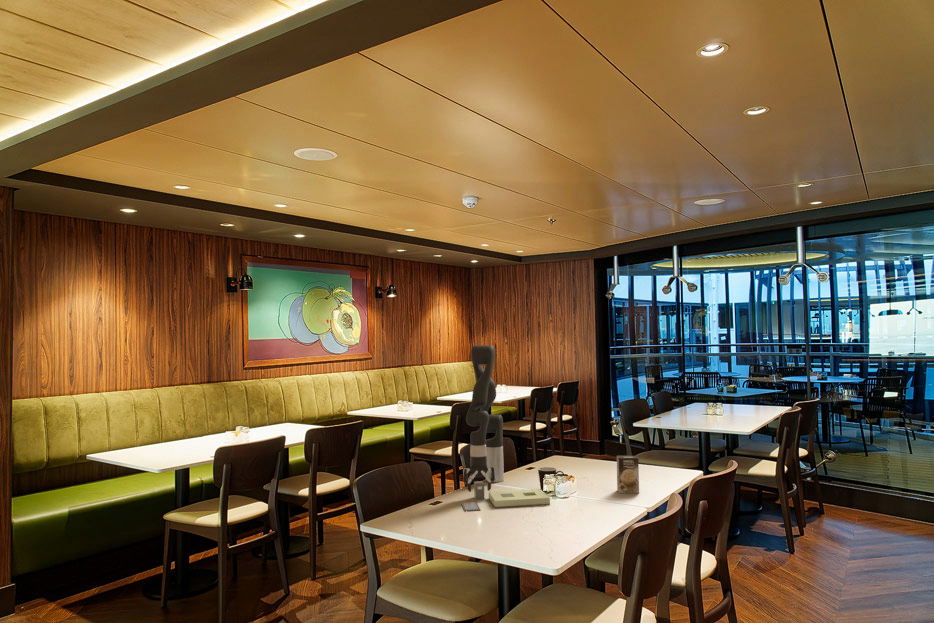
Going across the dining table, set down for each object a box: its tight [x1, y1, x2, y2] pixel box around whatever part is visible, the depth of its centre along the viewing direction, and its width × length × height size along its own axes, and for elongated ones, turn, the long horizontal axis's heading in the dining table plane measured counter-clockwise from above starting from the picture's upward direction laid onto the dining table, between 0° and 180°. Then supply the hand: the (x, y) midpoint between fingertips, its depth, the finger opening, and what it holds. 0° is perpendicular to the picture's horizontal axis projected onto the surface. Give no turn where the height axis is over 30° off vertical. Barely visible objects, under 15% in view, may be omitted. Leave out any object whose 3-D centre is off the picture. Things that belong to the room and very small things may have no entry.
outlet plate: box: [488, 488, 551, 509], centre depth 265 cm, size 16×24×3 cm, turn 97°
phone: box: [460, 501, 481, 512], centre depth 258 cm, size 13×7×1 cm, turn 8°
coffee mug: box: [537, 466, 565, 491], centre depth 283 cm, size 12×9×10 cm
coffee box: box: [616, 455, 640, 494], centre depth 278 cm, size 9×6×16 cm
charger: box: [473, 480, 485, 500], centre depth 272 cm, size 4×4×7 cm
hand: (479, 491), depth 272 cm, fingers open, 8 cm apart
